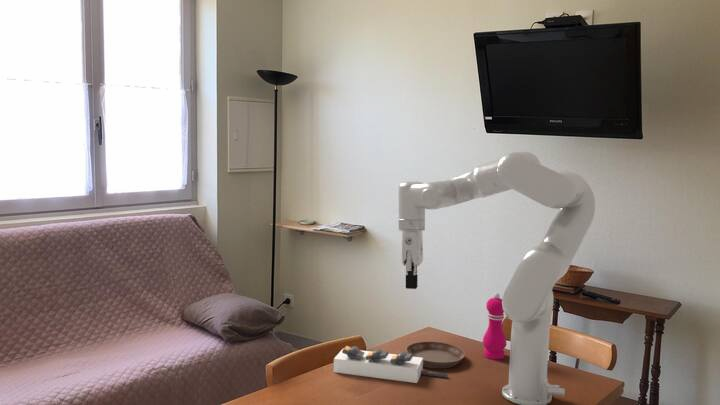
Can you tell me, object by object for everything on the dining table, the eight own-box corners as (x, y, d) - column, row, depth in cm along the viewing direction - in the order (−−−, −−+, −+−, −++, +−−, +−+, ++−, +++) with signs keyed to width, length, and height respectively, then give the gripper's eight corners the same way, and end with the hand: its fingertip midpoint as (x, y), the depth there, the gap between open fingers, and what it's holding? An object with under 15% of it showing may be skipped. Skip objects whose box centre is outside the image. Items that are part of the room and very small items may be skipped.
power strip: (449, 374, 174) (449, 360, 174) (444, 386, 166) (445, 371, 165) (342, 361, 183) (343, 347, 182) (333, 372, 174) (333, 357, 174)
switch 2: (413, 359, 172) (411, 350, 172) (411, 363, 168) (408, 354, 168) (394, 362, 174) (392, 353, 173) (391, 366, 170) (389, 357, 170)
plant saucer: (463, 352, 194) (464, 343, 193) (465, 373, 176) (465, 363, 176) (407, 348, 196) (408, 339, 196) (403, 369, 179) (404, 358, 178)
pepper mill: (506, 361, 186) (509, 296, 184) (481, 359, 187) (484, 295, 185) (505, 353, 193) (508, 291, 191) (482, 351, 194) (484, 289, 192)
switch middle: (388, 357, 174) (387, 348, 174) (386, 361, 170) (384, 352, 170) (370, 358, 175) (368, 349, 175) (366, 362, 172) (365, 353, 172)
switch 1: (362, 358, 176) (365, 349, 176) (359, 362, 173) (362, 354, 172) (344, 351, 177) (347, 342, 177) (341, 355, 174) (343, 346, 173)
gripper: (421, 228, 167) (420, 294, 169) (428, 222, 181) (427, 283, 183) (394, 228, 169) (394, 293, 170) (403, 221, 183) (403, 282, 185)
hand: (411, 287), depth 177 cm, fingers closed
